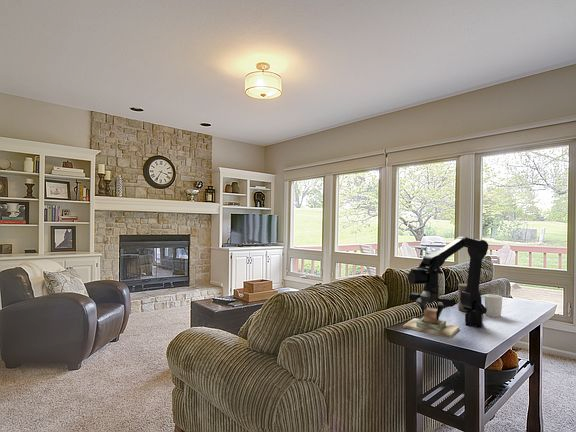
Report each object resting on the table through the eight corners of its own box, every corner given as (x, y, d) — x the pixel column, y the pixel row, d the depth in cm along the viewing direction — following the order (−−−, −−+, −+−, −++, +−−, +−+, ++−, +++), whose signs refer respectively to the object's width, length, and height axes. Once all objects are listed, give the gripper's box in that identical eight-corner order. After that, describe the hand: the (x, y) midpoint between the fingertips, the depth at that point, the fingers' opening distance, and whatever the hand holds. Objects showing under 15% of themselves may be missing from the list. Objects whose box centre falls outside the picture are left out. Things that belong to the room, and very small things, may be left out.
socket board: (459, 329, 157) (459, 322, 157) (450, 337, 146) (451, 329, 146) (414, 320, 169) (414, 313, 169) (403, 327, 158) (403, 320, 158)
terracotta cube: (438, 320, 158) (438, 309, 158) (435, 323, 154) (435, 311, 154) (427, 318, 161) (427, 307, 161) (423, 320, 157) (423, 309, 157)
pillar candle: (481, 313, 182) (481, 284, 183) (460, 312, 184) (461, 283, 184) (475, 308, 192) (475, 281, 192) (455, 307, 194) (456, 280, 194)
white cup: (480, 314, 181) (480, 294, 181) (491, 312, 184) (492, 293, 184) (494, 318, 174) (494, 298, 174) (506, 316, 177) (506, 296, 177)
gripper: (404, 283, 157) (404, 318, 157) (448, 289, 145) (448, 327, 146) (413, 280, 166) (412, 313, 166) (455, 285, 154) (455, 320, 154)
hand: (431, 318), depth 158 cm, fingers closed on terracotta cube, 5 cm apart
